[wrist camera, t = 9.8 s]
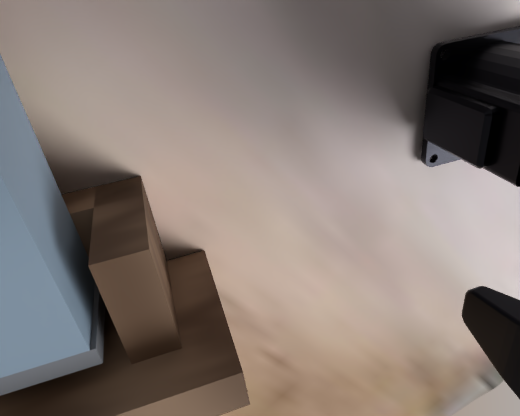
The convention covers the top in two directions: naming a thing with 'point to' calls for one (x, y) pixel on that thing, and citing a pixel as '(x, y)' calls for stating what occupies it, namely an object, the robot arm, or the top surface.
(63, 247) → the bed rail
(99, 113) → the top surface
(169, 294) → the headboard posts
